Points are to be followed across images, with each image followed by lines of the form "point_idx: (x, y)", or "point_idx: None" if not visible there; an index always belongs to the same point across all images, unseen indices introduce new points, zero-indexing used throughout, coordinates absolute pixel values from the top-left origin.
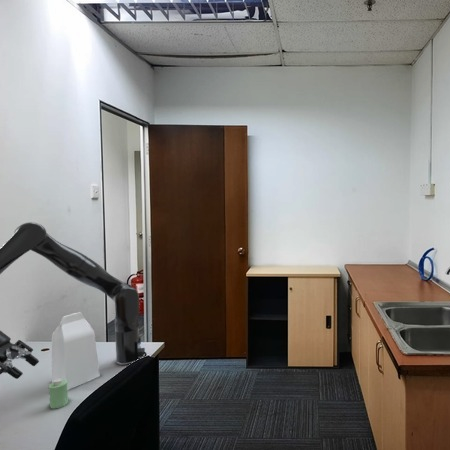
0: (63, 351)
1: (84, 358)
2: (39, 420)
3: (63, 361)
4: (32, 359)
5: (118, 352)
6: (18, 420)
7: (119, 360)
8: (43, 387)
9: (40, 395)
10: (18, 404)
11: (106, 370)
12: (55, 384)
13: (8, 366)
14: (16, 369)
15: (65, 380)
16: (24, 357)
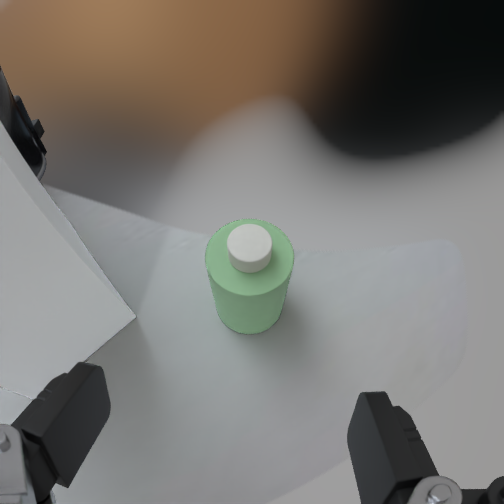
0: (13, 210)
1: (42, 193)
2: (359, 326)
3: (49, 258)
4: (74, 412)
5: None
6: (344, 413)
7: None
8: None
9: (140, 416)
10: (200, 483)
11: None
12: (270, 255)
13: (461, 500)
14: (397, 440)
15: (218, 231)
16: (45, 495)
